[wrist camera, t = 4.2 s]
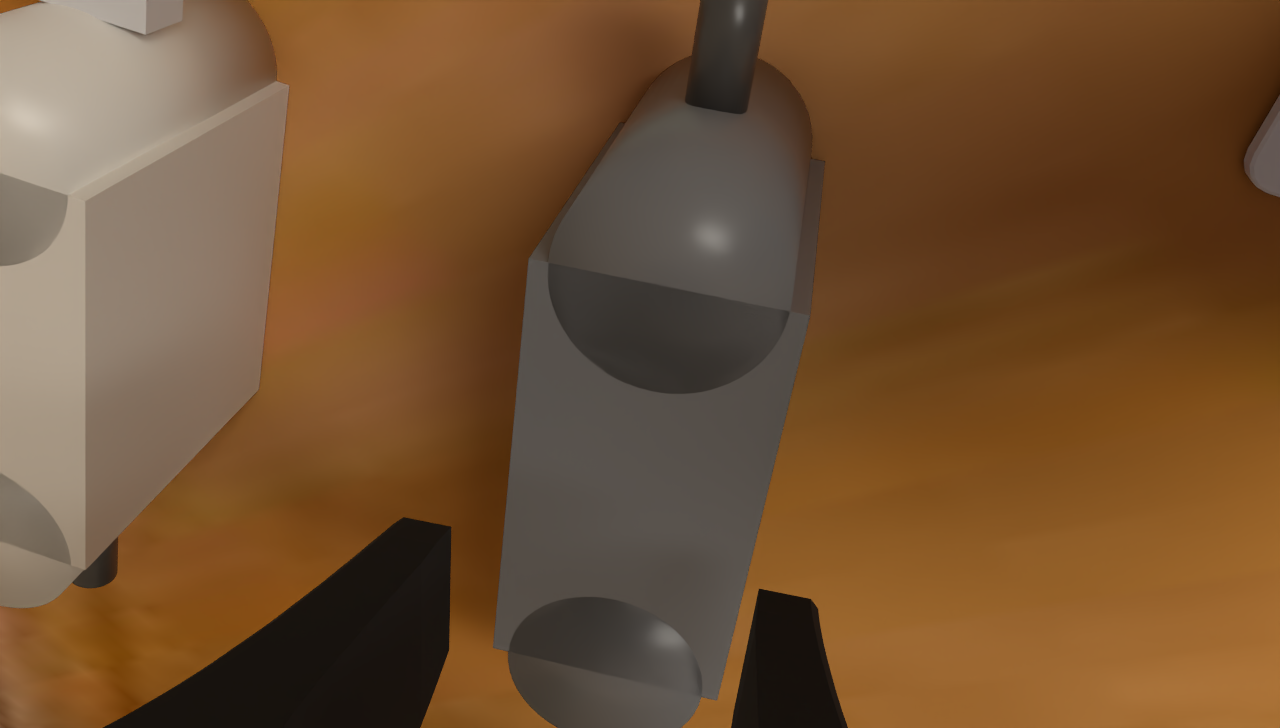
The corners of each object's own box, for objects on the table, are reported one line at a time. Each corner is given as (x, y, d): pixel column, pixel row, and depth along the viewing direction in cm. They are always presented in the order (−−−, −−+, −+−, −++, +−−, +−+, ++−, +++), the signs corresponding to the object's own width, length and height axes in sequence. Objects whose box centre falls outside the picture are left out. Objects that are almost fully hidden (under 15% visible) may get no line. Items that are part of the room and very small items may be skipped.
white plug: (246, 513, 25) (85, 709, 20) (99, 463, 25) (-100, 646, 20) (313, -157, 18) (84, -121, 12) (104, -223, 18) (-209, -215, 13)
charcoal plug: (647, -92, 17) (554, -28, 12) (874, -54, 17) (879, 29, 12) (559, 592, 24) (477, 815, 19) (717, 628, 24) (677, 865, 19)
